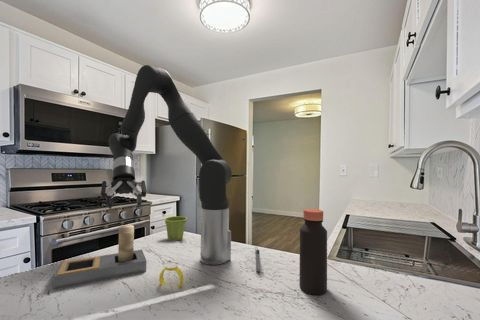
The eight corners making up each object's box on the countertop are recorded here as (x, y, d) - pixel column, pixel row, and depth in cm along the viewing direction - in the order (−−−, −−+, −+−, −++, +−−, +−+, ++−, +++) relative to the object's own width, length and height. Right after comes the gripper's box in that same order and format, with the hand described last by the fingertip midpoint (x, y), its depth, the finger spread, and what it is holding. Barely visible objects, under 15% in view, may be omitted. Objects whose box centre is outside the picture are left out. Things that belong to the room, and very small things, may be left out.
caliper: (259, 273, 69) (259, 251, 69) (256, 273, 69) (256, 251, 69) (257, 249, 89) (257, 232, 89) (254, 248, 89) (254, 232, 90)
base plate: (141, 262, 75) (142, 248, 75) (146, 274, 66) (146, 259, 67) (60, 276, 65) (60, 261, 65) (52, 293, 56) (53, 276, 56)
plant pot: (166, 235, 103) (166, 216, 104) (187, 235, 104) (188, 216, 105) (161, 242, 94) (161, 221, 94) (185, 242, 95) (185, 220, 95)
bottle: (294, 284, 62) (294, 209, 62) (314, 280, 64) (314, 207, 65) (311, 298, 56) (311, 213, 56) (333, 292, 58) (333, 212, 59)
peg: (132, 264, 71) (133, 224, 71) (133, 269, 68) (134, 227, 68) (117, 266, 69) (118, 226, 69) (118, 272, 66) (119, 229, 66)
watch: (183, 288, 60) (185, 265, 60) (179, 294, 57) (181, 270, 57) (162, 284, 61) (164, 261, 61) (156, 289, 58) (158, 266, 58)
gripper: (102, 164, 83) (100, 200, 72) (145, 164, 90) (148, 198, 79) (101, 178, 87) (100, 214, 77) (142, 177, 94) (146, 211, 84)
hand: (124, 206), depth 78 cm, fingers open, 8 cm apart
